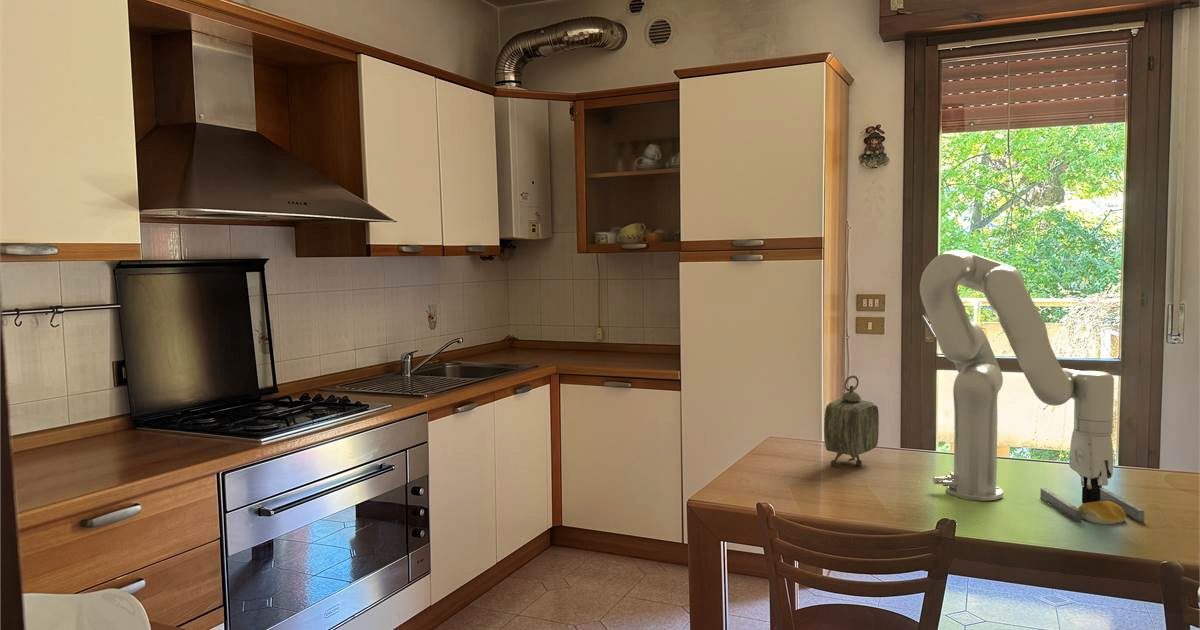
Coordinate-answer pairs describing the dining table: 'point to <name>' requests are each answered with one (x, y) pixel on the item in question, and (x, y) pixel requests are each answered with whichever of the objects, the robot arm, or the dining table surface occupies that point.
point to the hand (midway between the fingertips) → (1090, 504)
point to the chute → (1104, 496)
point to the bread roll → (1102, 512)
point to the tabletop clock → (851, 425)
